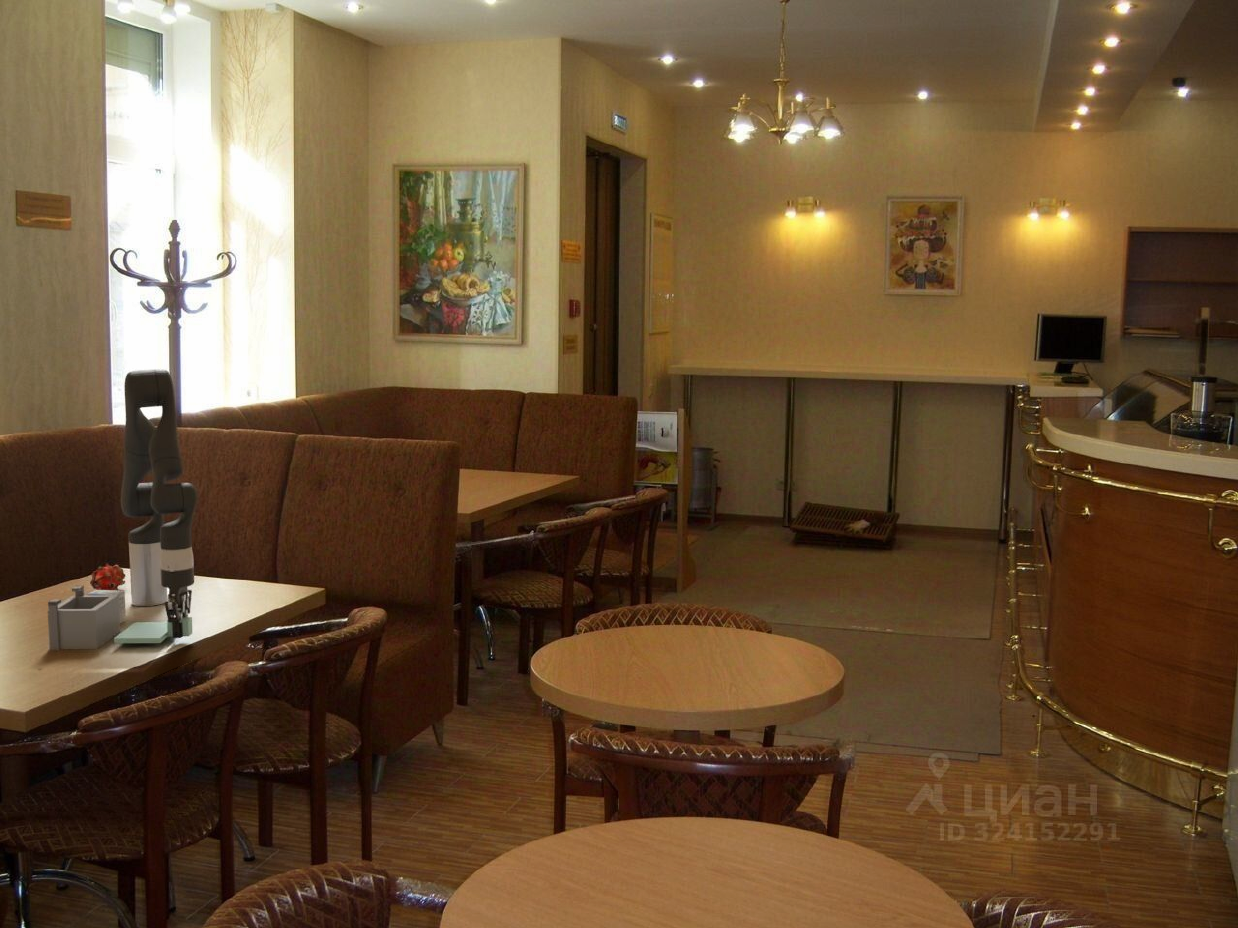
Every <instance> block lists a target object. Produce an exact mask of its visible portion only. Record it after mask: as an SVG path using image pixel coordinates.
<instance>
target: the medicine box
mask: <svg viewBox="0 0 1238 928" xmlns="http://www.w3.org/2000/svg"><path fill="white" fill-rule="evenodd" d="M87 595H118V597H119V617H120V624H122V623H124V622H126V621H127V611H126V610H127V609H126V597H125V595H126V593H125V590H118V589H117V590H96V589H94V590H92V591H90V592H89V593H87ZM87 595H86V596H87Z"/></svg>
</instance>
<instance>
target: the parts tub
mask: <svg viewBox="0 0 1238 928" xmlns="http://www.w3.org/2000/svg"><path fill="white" fill-rule="evenodd" d="M84 587H85V586H84V585H75V586H73V587H72V588H71V592H72V593H73V592H74V594H75V595H71V596H70V597H69V598H66V599H65V600H63V601H62V599H61V598H59V599H58V598H54V599H51V600H49V601H48V602H47V605H48V610H47V620H48V621H47V623H48V625H47V626H48V640H49V642H48V643H49V650H51V651H59V650H88V649H89V650H93V649H99V648H100V647H102V646H103V645H104V644H106V643H107V642H108V641H110V640H111V639H112V638H115V637H116V636H117V635H119V634H120V633H121V623H120V617H119V597H118V595H85V588H84Z"/></svg>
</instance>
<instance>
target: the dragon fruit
mask: <svg viewBox="0 0 1238 928" xmlns="http://www.w3.org/2000/svg"><path fill="white" fill-rule="evenodd" d="M125 578H126V574H125V573H124V568H121V567H120V566H119V564H114V565H113V566H112V565H110V564H109V563H105V566H98V568H97V570H95V571H93V572H92V574H91V580H90V583H89V585H91V587H92V588H93V590H118V587H119V586H123V585H125V583H126V581H125V580H124V579H125Z"/></svg>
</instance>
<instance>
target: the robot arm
mask: <svg viewBox="0 0 1238 928" xmlns="http://www.w3.org/2000/svg"><path fill="white" fill-rule="evenodd" d="M173 383H174V382H173V379H172V376H171V374H170V372H169V371H168V370H167V369H161V368H159V369H158V368H157V369H140V370H132V371H129V372H127V374H126V376H125V379H124V386H123V387H124V402H125V403H124V404H125V405H124V406H125V408H124V410H125V411H124V412H125V426H124V427H125V428H124V438H123V439H124V440H123V477H122V483H121V484H122V485H121V492H120V509H121V511H122V513H123V515H124V516H125V517H127V518H146V517H150V519H149V520H148V521H147V522H146V523H144V524H143V525H141V526H139V527H136V528H134V529H132V530H130V531H129V533H128V536H127V537H128V552H129V554H128V555H129V569H130V570H129V573H130V594H131V604H132V605H133V606H137V607H148V606H149V607H150V606H158V605H163V604H164V608H165V613H166V618H167V620H168V622H171V623H172V631H173V636H172V637H173V639H182V638H183V637H184V636H183V628H182V621H183V620H182V617H189V614H191V604H192V594H193V591H192V589H188V587H190V586H192V585H194V583H195V569H194V568H195V567H194V565H195V564H194V552H193V545H192V543H193V542H192V526H193V520H194V516H195V511H196V508H197V504H198V498H199V497H198V490H197V489H196V487H195V486H194V484H192V483H190V482H181V483H168V482H171V481H174V480H177V479H179V478H180V477H181V476H182V475H183V473H184V464H183V460H182V455H181V449H180V446H179V437H178V426H177V424H178V423H177V409H176V400H175V389H174V384H173ZM151 407H153V408H154V407H161V410H162V413H161V417H160V420H159V422H158V424H157V426H156V425H155V424H154V423H153V422H151V421H150V419H148V417H147V416H146V415H145V414H144V413H143V411H142V410H141V409H142V408H151ZM151 472H152V482H142V480H143V479H144V478H145V477H146V476H147V475H148V474H150V473H151ZM177 513H179V516H178V518H176V519H175V520H172V521H170V522H167V523H165V515H168V514H177Z"/></svg>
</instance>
